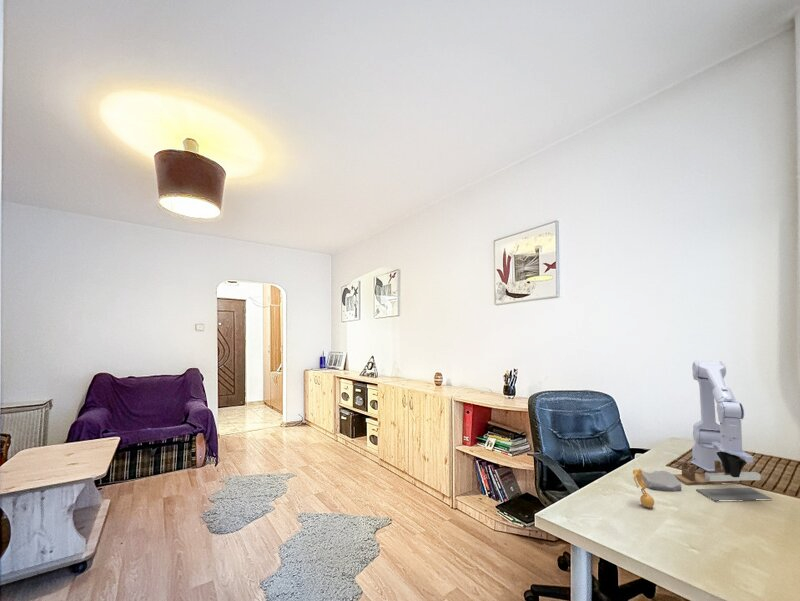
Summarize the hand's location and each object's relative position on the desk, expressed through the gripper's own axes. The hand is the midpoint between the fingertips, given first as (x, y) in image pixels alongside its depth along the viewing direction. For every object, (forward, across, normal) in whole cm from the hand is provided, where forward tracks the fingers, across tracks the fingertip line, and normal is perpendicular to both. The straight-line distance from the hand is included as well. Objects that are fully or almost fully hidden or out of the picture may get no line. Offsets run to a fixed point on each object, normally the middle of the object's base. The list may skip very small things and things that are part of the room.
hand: (732, 475), depth 136 cm
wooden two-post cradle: (+7, -12, 0) cm, 14 cm away
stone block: (+8, -9, -20) cm, 23 cm away
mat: (+7, 0, 0) cm, 7 cm away
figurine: (+7, +5, -35) cm, 36 cm away
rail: (+1, 0, 0) cm, 1 cm away
